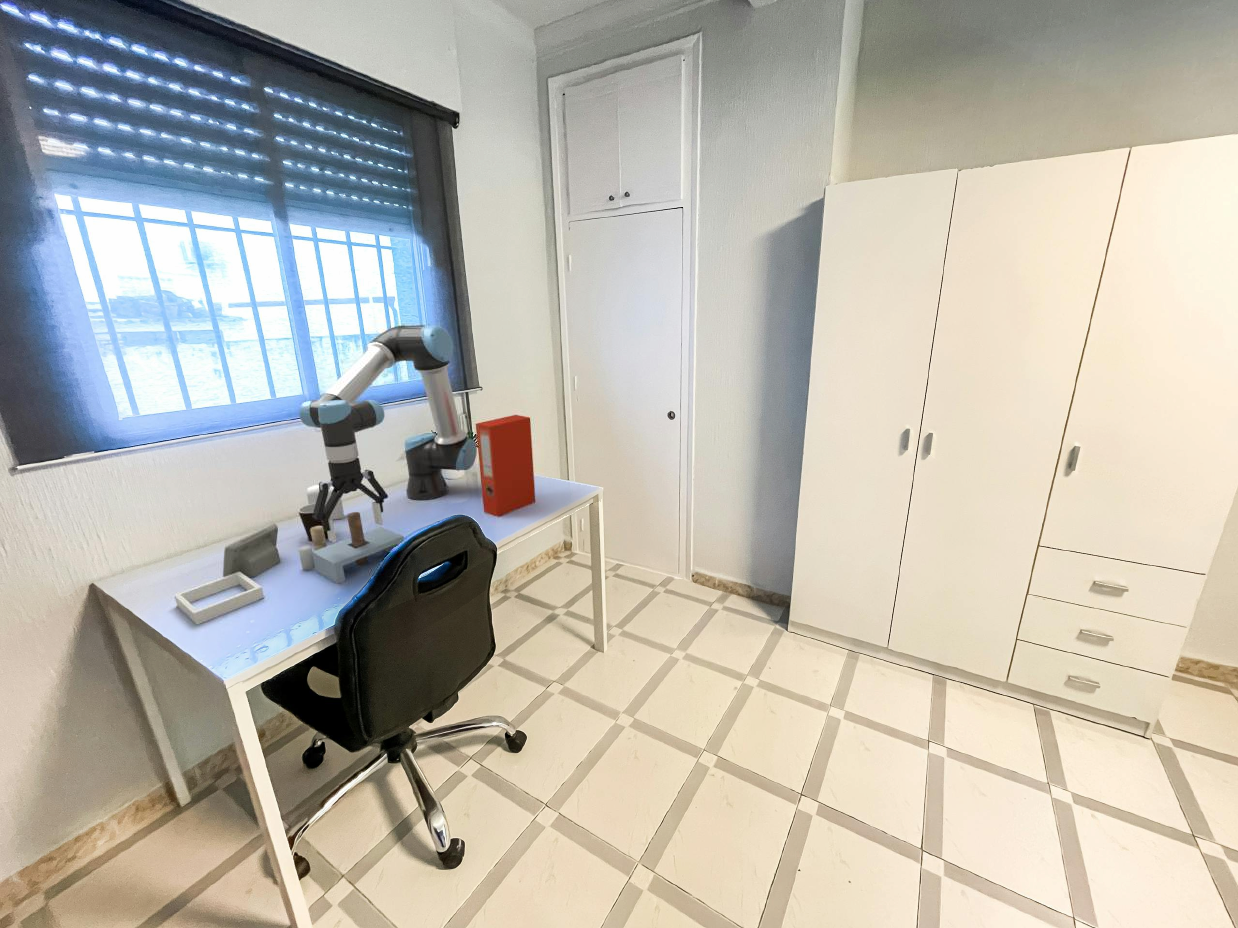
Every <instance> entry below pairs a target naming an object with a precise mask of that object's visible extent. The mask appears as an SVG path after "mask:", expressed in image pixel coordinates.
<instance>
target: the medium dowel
mask: <svg viewBox="0 0 1238 928" xmlns="http://www.w3.org/2000/svg"><path fill="white" fill-rule="evenodd" d="M310 531H311V536H312V540H313V541H312V544H313V550H314V551H316V550H318V549H321V548H324V547H326V546H328V545H327V541H326V540H327V539H325V535H324V530H323V527H322V526H315V527H312V528H311V529H310Z"/></svg>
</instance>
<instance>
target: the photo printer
mask: <svg viewBox="0 0 1238 928" xmlns="http://www.w3.org/2000/svg"><path fill="white" fill-rule="evenodd" d="M333 489H334V487H333V486H331V487H330V490H328V496H327V500H326V503H327V502H328V500H329V498H330V496H331V492H332V491H333ZM338 492H339V491H338ZM338 492H337V493H338ZM318 494H319V484H315V485H311V486H310V487H308V488H307V489H306V496H307V502H308V505H309V504H314V503H316V501H317V497H318ZM344 517H345V514H344V506H343V500H342V497H341V498H340V499H339V501H338V502H337V504H336V506H335V508H334V510H333V512H332V514H331V515H330V518H331V519H332V520H342V519H344Z"/></svg>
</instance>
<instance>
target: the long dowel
mask: <svg viewBox="0 0 1238 928" xmlns="http://www.w3.org/2000/svg"><path fill="white" fill-rule="evenodd" d="M346 517H347V523H348V528H349V534H350V538H351V540H352V545H353V548H355V549H356V548H358V547H361V546H364V545H365V539H364V534H363V533H364V529H363V524H362V519H361V513H360V512H359V511H354V512H349V513H347V514H346ZM368 556H369V555H368ZM368 556H365V557H363V558H360V559H358V560H355V561H354V562H355V565H356V566H358V567H359V566H365V565H367V564H369V557H368Z"/></svg>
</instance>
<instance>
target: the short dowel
mask: <svg viewBox="0 0 1238 928" xmlns="http://www.w3.org/2000/svg"><path fill="white" fill-rule="evenodd" d="M297 551H298V555H299V559H300V563H301V567H302V570H303V571H310V570H313V569H315V564H314V559H313V555H312V552H313V547H312V546H311V545H304V546H301V547H299V548H298V550H297Z"/></svg>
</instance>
